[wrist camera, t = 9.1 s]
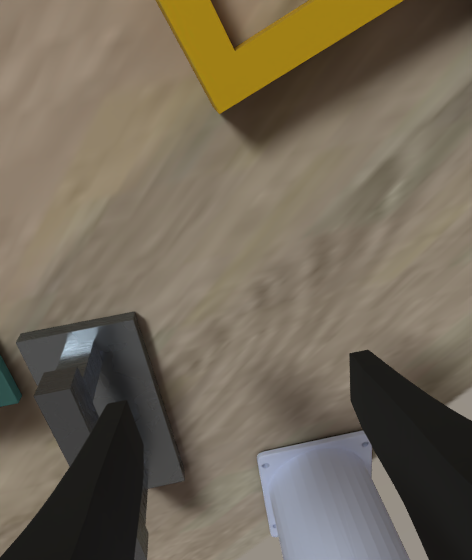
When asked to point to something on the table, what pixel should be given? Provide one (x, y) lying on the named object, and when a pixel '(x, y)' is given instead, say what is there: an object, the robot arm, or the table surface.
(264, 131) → the table surface
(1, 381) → the teal mat
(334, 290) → the table surface
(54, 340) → the rail holder
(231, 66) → the mechanical clamp
